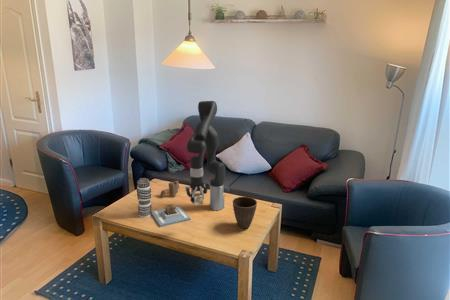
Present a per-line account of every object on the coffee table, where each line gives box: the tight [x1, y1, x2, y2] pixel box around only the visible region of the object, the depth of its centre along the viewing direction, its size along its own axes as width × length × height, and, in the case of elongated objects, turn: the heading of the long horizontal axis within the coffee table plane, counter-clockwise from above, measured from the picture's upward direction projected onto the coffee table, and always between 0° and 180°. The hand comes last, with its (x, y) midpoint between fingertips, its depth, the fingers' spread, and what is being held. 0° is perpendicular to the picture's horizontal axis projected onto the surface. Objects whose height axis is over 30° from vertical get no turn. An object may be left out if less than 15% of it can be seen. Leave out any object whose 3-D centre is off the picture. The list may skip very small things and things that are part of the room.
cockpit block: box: [192, 192, 204, 206], centre depth 194 cm, size 5×5×6 cm
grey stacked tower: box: [136, 177, 153, 218], centre depth 215 cm, size 9×9×25 cm
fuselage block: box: [164, 203, 176, 215], centre depth 215 cm, size 5×5×6 cm
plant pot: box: [232, 196, 258, 229], centre depth 204 cm, size 15×15×16 cm
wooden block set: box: [159, 180, 180, 198], centre depth 247 cm, size 18×9×10 cm, turn 153°
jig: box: [151, 205, 191, 227], centre depth 216 cm, size 20×20×3 cm
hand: (197, 201), depth 194 cm, fingers closed on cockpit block, 5 cm apart
